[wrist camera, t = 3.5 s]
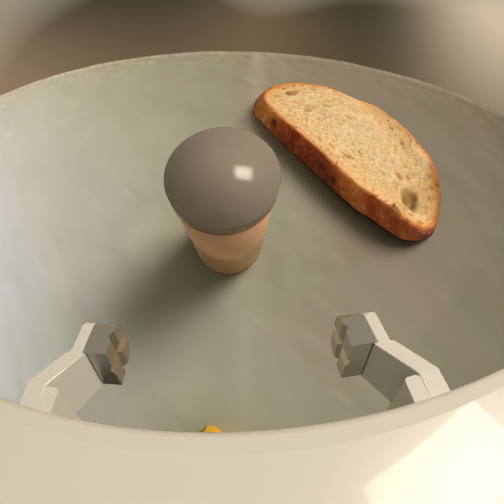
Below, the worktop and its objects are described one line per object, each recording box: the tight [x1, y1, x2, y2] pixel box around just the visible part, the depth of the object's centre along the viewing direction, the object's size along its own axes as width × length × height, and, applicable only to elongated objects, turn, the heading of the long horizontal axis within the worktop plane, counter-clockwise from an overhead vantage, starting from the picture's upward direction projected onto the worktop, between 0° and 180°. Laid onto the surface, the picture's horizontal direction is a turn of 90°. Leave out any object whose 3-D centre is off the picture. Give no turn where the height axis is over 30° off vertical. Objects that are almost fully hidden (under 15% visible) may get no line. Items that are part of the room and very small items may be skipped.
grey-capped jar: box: [164, 127, 281, 274], centre depth 19 cm, size 5×5×11 cm
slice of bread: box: [253, 83, 441, 241], centre depth 25 cm, size 18×18×4 cm
